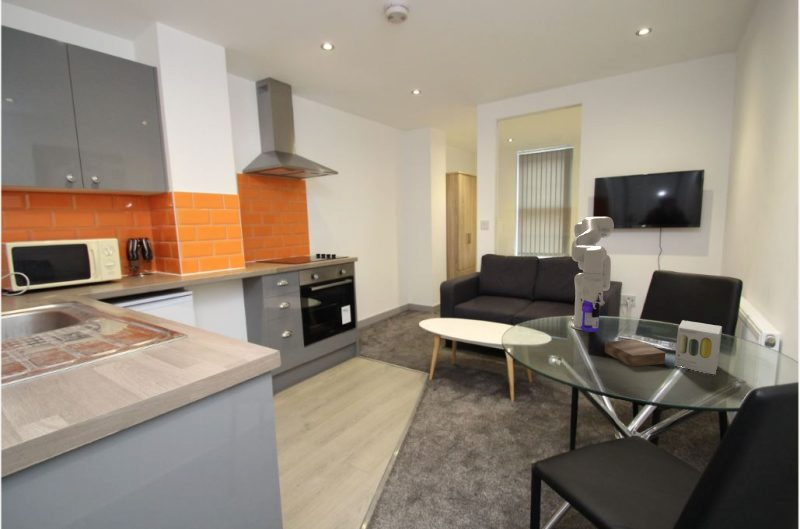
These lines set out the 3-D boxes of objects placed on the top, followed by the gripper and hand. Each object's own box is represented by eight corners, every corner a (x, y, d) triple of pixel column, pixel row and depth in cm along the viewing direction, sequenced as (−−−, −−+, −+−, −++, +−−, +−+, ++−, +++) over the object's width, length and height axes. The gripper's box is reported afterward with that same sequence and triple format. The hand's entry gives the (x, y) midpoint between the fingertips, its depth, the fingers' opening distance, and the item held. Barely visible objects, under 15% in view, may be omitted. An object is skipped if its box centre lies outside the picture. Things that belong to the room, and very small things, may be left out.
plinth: (604, 352, 165) (605, 342, 164) (634, 349, 167) (635, 339, 166) (631, 366, 149) (632, 355, 148) (664, 363, 151) (665, 352, 151)
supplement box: (673, 366, 148) (677, 326, 146) (678, 357, 157) (682, 319, 155) (715, 376, 139) (720, 334, 136) (718, 365, 148) (722, 325, 145)
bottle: (594, 328, 163) (596, 291, 160) (600, 332, 157) (602, 295, 154) (578, 328, 163) (580, 292, 160) (583, 332, 158) (585, 295, 155)
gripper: (572, 273, 164) (570, 310, 167) (598, 280, 147) (596, 321, 150) (586, 272, 165) (585, 308, 168) (614, 279, 148) (611, 320, 151)
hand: (590, 314), depth 159 cm, fingers closed on bottle, 5 cm apart
